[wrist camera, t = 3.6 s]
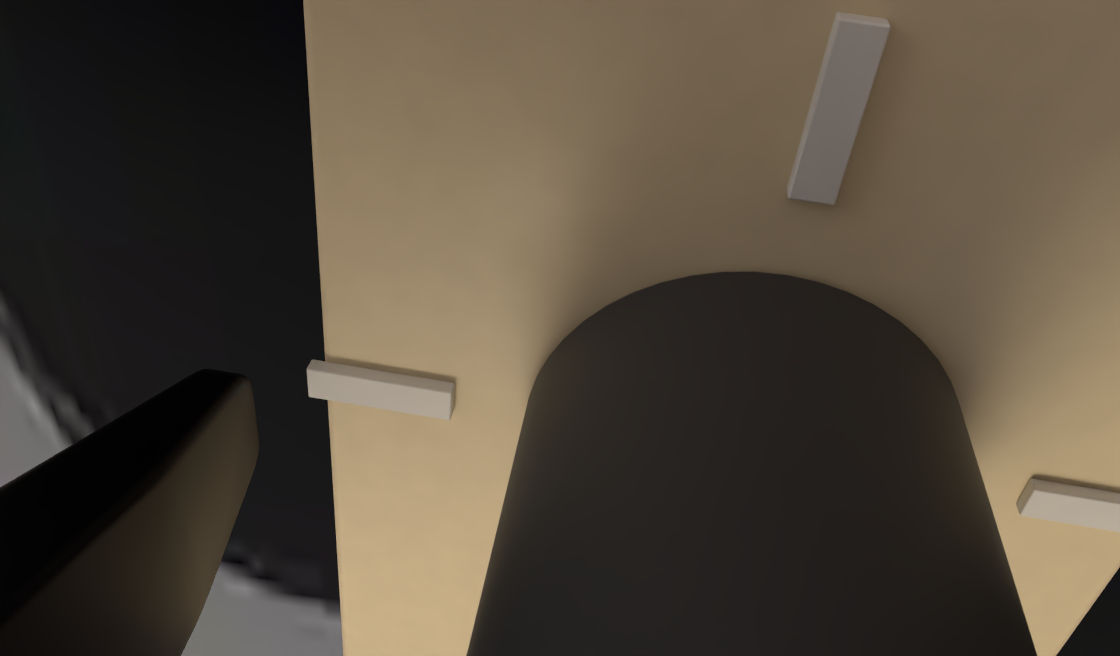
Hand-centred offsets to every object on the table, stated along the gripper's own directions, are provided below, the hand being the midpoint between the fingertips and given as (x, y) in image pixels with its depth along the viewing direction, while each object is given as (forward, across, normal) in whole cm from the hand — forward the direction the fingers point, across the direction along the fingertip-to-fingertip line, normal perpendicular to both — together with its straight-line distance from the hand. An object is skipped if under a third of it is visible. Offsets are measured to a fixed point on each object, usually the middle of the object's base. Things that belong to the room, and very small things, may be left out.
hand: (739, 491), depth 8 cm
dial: (+1, 0, 0) cm, 1 cm away
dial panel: (+4, 0, 0) cm, 4 cm away
